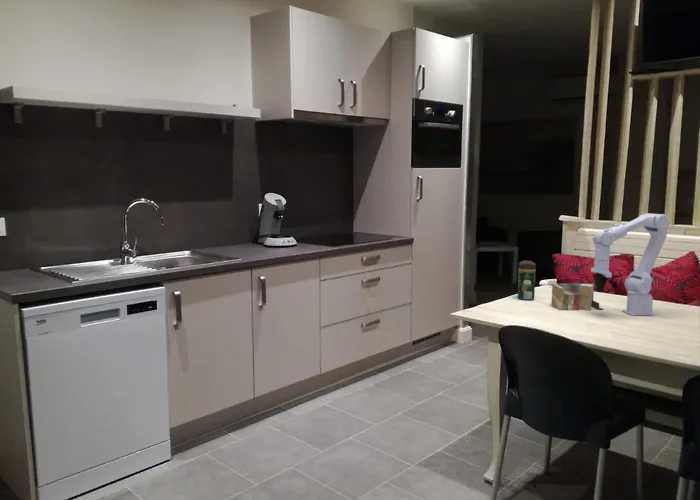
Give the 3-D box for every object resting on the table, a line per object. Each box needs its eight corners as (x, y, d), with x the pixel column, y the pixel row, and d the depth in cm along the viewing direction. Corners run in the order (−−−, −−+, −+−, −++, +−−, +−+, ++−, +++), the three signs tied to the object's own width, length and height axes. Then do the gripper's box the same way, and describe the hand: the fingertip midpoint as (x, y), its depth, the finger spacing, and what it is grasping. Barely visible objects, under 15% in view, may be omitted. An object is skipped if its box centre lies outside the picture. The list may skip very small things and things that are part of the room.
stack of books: (593, 305, 255) (594, 283, 254) (603, 310, 245) (605, 288, 244) (550, 304, 255) (551, 283, 254) (559, 310, 245) (560, 288, 243)
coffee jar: (517, 296, 274) (518, 259, 272) (533, 297, 272) (535, 260, 269) (517, 300, 265) (519, 261, 263) (534, 301, 263) (536, 262, 260)
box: (577, 309, 247) (579, 284, 246) (579, 307, 251) (580, 283, 249) (590, 310, 244) (592, 286, 243) (591, 308, 248) (593, 284, 247)
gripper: (584, 257, 240) (582, 287, 242) (600, 262, 226) (598, 294, 227) (600, 257, 240) (598, 288, 242) (617, 262, 226) (615, 294, 228)
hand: (599, 291), depth 235 cm, fingers closed
